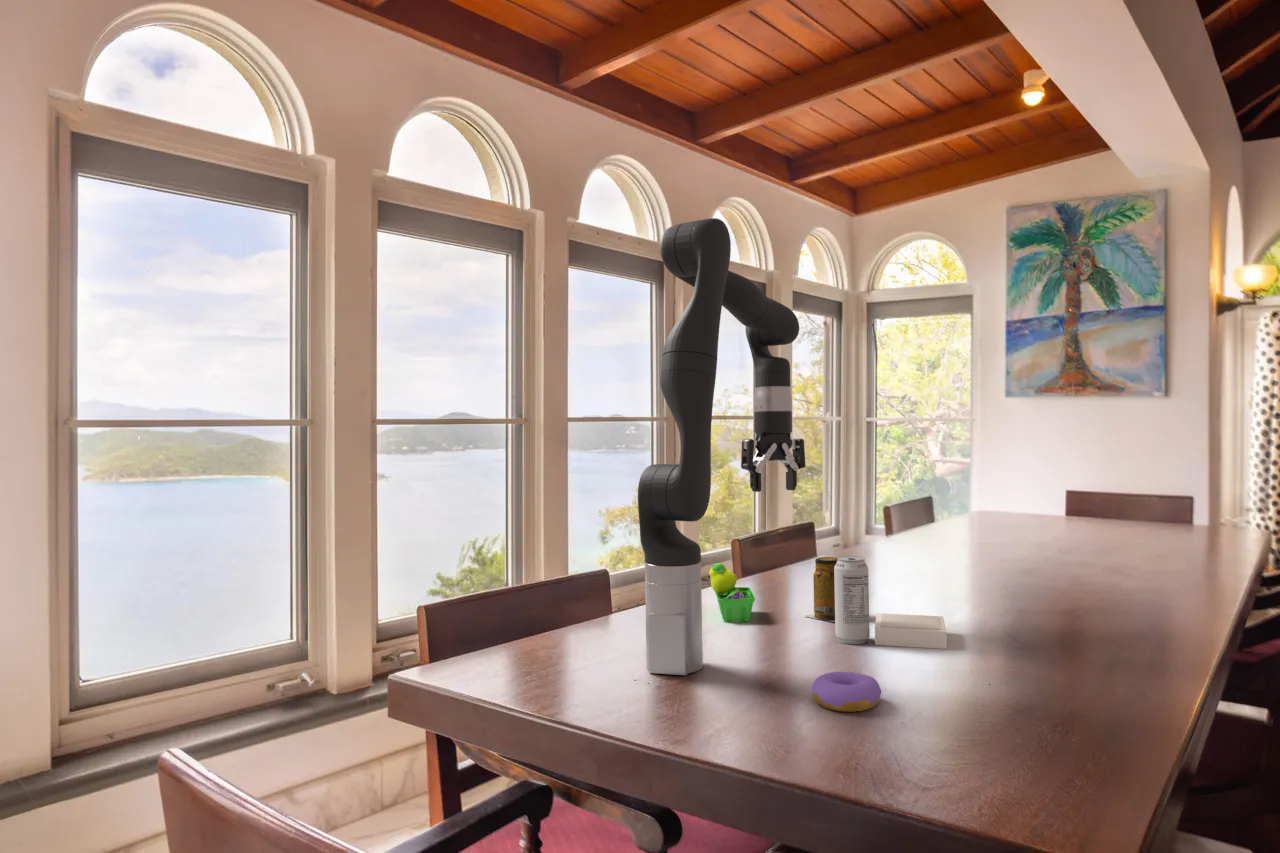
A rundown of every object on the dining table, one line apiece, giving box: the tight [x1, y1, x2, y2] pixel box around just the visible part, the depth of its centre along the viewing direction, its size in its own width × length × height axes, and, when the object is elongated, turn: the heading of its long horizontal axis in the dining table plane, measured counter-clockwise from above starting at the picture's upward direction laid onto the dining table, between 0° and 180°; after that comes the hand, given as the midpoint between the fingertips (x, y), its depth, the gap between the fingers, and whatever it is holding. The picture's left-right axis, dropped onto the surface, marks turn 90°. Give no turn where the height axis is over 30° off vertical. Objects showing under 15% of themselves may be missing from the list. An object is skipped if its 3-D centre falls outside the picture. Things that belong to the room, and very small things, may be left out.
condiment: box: [805, 556, 838, 623], centre depth 170 cm, size 7×8×12 cm
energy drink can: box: [834, 555, 871, 645], centre depth 151 cm, size 6×6×15 cm
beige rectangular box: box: [874, 612, 948, 650], centre depth 152 cm, size 12×12×3 cm
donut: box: [811, 671, 882, 713], centre depth 117 cm, size 10×9×5 cm
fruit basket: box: [708, 562, 756, 623], centre depth 172 cm, size 11×9×11 cm
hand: (773, 490), depth 166 cm, fingers open, 8 cm apart
